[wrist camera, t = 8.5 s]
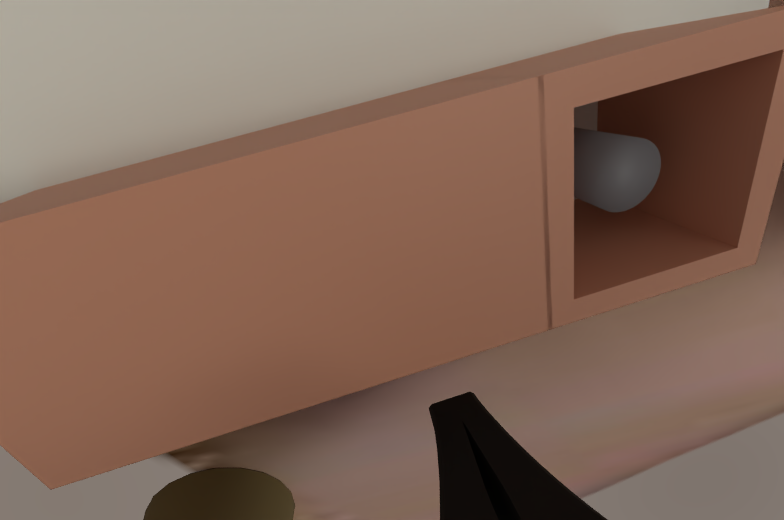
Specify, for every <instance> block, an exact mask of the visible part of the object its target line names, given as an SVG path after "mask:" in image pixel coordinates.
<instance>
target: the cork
mask: <svg viewBox="0 0 784 520" xmlns="http://www.w3.org/2000/svg"><path fill="white" fill-rule="evenodd" d="M294 509H295V503H294V500H293V497H292V493H291V492H290V491H289V490H288V489H287V488H286V486H285V485H284V484H283V483H282V482H281V481H279V480H277V479H275V478H273V477H271V476H269V475H267V474H265V473H263V472H258V471H253V470H248V469H243V468H214V469H209V470H205V471H200V472H195V473H191V474H188V475H186V476H184V477H182V478H180V479H177V480H175V481H173V482H171V483H169V484H168V485H166V486H165V487H164V488H163V489H162V490H160V491H159V492H158V493H157V494H156V495H154V496H153V498H152V500H151V502H150V504H149V506H148V508H147V509H146V512H145V516H144V519H143V520H293V514H294Z"/></svg>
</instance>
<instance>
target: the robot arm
mask: <svg viewBox="0 0 784 520" xmlns="http://www.w3.org/2000/svg"><path fill="white" fill-rule="evenodd" d="M429 411H430V415H431V419H432V422H433V426H434V430H435V436H436V444H437V452H438V465H439V480H440V520H607V519H606V518H604V517H603V516H602V515H601V514H599V513H598V512H597V511H595V510H594V509H593V508H591V507H590V506H589V505H587V504H586V503H585V502H584V501H583V500H581V499H580V498H579V497H578V496H576V495H575V494H574V493H573V492H571V491H570V490H569V489H568V488H567V487H565V486H564V485H563V484H562V483H561V482H560V481H558V480H557V479H556V478H555V477H554V476H553V475H552V474H550V473H549V472H548V471H547V470H546V469H545V468H544V467H543V466H542V465H540V464H539V463H538V462H537V461H536V460H535V459H534V458H533V457H532V456H531V455H530V454H529V453H528V452H527V451H526V450H525V449H523V448H522V447H521V446H520V445H519V444H518V443H517V442H516V441H515V440H514V439H513V438H512V437H511V436H510V435H509V434H508V433H507V432H506V430H505V429H504V428H503V427H502V426H501V425H500V424H499V423H498V422H497V421H496V420H495V419H494V418H493V416H492V415H491V414H490V413H489V412H488V411H487V410H486V408H485V407H484V406H483V405H482V404H481V402H480V401H479V400H478V398H477V397H476V396H475V394H474V393H472V392H467V393H464V394H461V395H458V396H455V397H452V398H449V399H446V400H443V401H440V402H437V403H434V404H432V405H431V406H430V407H429Z"/></svg>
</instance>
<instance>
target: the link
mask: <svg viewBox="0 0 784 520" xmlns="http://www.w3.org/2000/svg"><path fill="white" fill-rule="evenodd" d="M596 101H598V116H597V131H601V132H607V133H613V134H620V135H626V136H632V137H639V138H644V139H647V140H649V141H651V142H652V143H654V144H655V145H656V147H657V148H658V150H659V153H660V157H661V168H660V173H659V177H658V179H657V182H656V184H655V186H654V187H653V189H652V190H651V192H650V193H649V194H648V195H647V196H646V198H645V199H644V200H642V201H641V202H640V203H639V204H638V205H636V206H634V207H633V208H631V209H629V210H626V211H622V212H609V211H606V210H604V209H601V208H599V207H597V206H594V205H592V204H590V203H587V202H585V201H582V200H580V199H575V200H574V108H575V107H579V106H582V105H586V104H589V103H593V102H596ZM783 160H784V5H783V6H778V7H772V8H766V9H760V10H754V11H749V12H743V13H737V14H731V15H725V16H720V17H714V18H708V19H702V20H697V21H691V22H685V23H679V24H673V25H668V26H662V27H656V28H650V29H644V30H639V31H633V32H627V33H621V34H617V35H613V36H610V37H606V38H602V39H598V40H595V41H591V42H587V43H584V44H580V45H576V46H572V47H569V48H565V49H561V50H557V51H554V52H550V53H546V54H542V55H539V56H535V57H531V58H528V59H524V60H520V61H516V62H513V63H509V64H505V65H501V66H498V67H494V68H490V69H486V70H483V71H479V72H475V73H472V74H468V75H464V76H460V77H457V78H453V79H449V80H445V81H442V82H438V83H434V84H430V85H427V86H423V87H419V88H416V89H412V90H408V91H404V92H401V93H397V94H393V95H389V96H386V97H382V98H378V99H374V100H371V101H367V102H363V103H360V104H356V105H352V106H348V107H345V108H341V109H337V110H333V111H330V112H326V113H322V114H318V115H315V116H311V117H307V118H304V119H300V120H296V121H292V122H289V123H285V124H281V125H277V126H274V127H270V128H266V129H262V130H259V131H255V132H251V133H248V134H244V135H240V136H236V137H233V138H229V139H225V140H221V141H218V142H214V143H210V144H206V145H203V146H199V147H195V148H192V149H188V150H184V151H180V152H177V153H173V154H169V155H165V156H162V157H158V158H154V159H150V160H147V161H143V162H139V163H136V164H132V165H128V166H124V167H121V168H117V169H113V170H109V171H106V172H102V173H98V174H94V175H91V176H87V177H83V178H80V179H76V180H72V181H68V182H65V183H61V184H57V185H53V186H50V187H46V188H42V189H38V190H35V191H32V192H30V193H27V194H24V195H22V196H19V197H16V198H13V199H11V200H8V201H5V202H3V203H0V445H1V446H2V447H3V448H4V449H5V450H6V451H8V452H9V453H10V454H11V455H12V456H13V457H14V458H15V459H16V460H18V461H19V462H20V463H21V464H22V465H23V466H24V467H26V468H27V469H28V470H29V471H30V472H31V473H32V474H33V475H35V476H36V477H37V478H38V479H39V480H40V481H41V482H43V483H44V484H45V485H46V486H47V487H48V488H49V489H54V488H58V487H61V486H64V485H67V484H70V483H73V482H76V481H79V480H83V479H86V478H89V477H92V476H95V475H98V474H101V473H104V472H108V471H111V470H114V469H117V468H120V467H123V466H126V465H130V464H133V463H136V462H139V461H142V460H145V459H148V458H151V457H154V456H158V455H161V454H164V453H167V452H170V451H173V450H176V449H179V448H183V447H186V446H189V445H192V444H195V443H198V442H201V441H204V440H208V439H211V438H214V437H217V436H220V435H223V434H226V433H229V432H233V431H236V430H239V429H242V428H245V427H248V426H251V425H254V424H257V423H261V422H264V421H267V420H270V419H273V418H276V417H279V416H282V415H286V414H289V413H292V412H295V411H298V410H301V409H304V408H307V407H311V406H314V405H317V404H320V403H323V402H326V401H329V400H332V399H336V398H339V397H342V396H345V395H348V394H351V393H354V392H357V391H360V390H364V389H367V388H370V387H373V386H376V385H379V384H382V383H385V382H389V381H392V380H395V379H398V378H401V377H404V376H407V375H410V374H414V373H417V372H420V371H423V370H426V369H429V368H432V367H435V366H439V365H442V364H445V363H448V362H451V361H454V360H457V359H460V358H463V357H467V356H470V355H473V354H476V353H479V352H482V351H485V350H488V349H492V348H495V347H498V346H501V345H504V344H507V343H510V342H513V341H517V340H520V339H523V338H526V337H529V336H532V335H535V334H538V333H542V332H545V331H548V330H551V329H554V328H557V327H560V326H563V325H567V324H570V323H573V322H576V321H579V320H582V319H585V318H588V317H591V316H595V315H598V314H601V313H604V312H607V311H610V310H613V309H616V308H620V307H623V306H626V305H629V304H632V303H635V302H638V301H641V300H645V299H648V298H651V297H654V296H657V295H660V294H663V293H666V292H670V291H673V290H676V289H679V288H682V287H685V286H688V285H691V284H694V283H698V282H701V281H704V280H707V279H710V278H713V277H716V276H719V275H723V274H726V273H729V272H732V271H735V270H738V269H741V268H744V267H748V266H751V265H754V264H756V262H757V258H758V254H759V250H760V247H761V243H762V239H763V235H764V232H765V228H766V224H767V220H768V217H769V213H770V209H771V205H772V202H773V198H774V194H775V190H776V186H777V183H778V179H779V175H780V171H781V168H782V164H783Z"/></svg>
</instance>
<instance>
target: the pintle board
mask: <svg viewBox="0 0 784 520" xmlns="http://www.w3.org/2000/svg"><path fill="white" fill-rule="evenodd" d="M769 1H770V0H0V203H3V202H5V201H8V200H11V199H13V198H16V197H19V196H22V195H24V194H27V193H30V192H32V191H35V190H38V189H42V188H46V187H50V186H53V185H57V184H61V183H65V182H68V181H72V180H76V179H80V178H83V177H87V176H91V175H94V174H98V173H102V172H106V171H109V170H113V169H117V168H121V167H124V166H128V165H132V164H136V163H139V162H143V161H147V160H150V159H154V158H158V157H162V156H165V155H169V154H173V153H177V152H180V151H184V150H188V149H192V148H195V147H199V146H203V145H206V144H210V143H214V142H218V141H221V140H225V139H229V138H233V137H236V136H240V135H244V134H248V133H251V132H255V131H259V130H262V129H266V128H270V127H274V126H277V125H281V124H285V123H289V122H292V121H296V120H300V119H304V118H307V117H311V116H315V115H318V114H322V113H326V112H330V111H333V110H337V109H341V108H345V107H348V106H352V105H356V104H360V103H363V102H367V101H371V100H374V99H378V98H382V97H386V96H389V95H393V94H397V93H401V92H404V91H408V90H412V89H416V88H419V87H423V86H427V85H430V84H434V83H438V82H442V81H445V80H449V79H453V78H457V77H460V76H464V75H468V74H472V73H475V72H479V71H483V70H486V69H490V68H494V67H498V66H501V65H505V64H509V63H513V62H516V61H520V60H524V59H528V58H531V57H535V56H539V55H542V54H546V53H550V52H554V51H557V50H561V49H565V48H569V47H572V46H576V45H580V44H584V43H587V42H591V41H595V40H598V39H602V38H606V37H610V36H613V35H617V34H621V33H627V32H633V31H639V30H644V29H650V28H656V27H662V26H668V25H673V24H679V23H685V22H691V21H697V20H702V19H708V18H714V17H720V16H725V15H731V14H737V13H743V12H749V11H754V10H760V9H766V8H768V6H769ZM597 116H598V101H596V102H593V103H589V104H586V105H582V106H579V107H575V108H574V200H575V199H580V200H582V201H585V202H587V203H590V204H592V205H594V206H597V207H599V208H601V209H604V210H606V211H609V212H622V211H626V210H629V209H631V208H633V207H634V206H636V205H638V204H639V203H640V202H641V201H642V200H644V199H645V198H646V196H647V195H648V194H649V193H650V192H651V190H652V189H653V187H654V186H655V184H656V182H657V179H658V177H659V173H660V168H661V157H660V153H659V150H658V148H657V147H656V145H655V144H654V143H652V142H651V141H649V140H647V139H644V138H639V137H632V136H626V135H620V134H613V133H607V132H601V131H597Z"/></svg>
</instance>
